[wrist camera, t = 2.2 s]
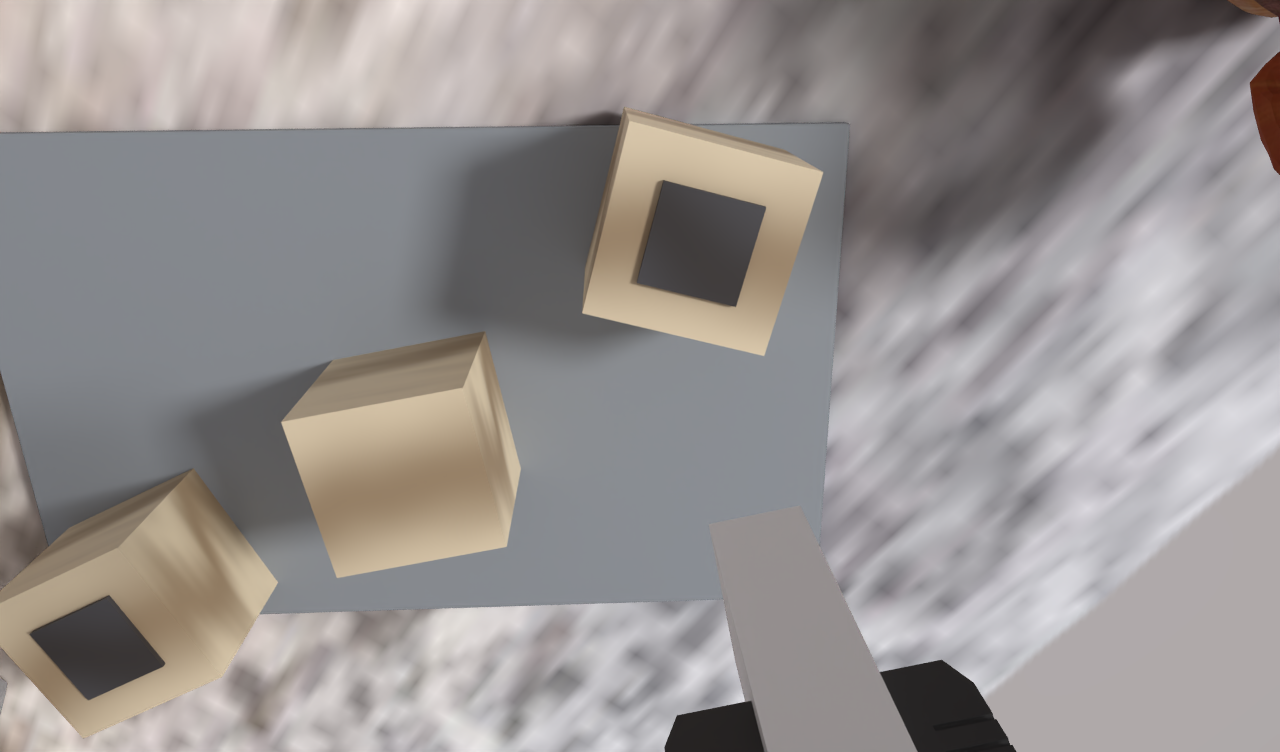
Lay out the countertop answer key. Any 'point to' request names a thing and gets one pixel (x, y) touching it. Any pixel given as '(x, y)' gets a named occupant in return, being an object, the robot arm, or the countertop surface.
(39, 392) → the mat
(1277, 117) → the mug
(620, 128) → the labelled block
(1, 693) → the figurine
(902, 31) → the countertop surface
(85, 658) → the labelled block
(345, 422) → the plain block
